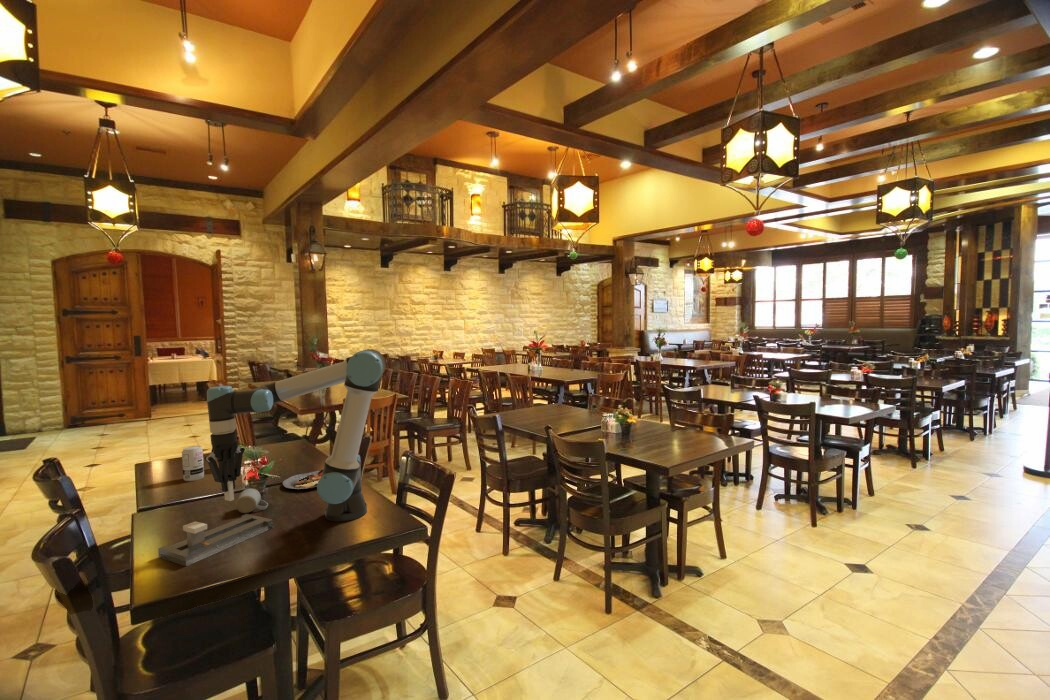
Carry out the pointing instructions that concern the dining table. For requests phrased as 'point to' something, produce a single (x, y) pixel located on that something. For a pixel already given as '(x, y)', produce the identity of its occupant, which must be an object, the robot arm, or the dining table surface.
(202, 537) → the fader tab
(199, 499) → the dining table surface
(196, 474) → the supplement can
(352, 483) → the robot arm
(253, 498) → the ceramic mug
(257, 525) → the slider track base
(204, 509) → the dining table surface
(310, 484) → the food plate
